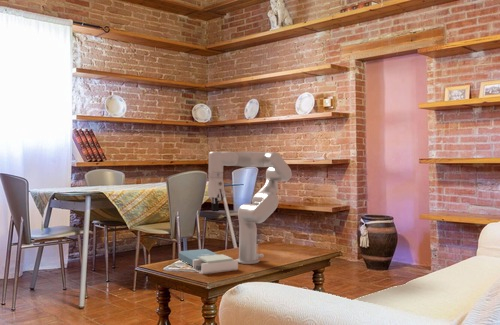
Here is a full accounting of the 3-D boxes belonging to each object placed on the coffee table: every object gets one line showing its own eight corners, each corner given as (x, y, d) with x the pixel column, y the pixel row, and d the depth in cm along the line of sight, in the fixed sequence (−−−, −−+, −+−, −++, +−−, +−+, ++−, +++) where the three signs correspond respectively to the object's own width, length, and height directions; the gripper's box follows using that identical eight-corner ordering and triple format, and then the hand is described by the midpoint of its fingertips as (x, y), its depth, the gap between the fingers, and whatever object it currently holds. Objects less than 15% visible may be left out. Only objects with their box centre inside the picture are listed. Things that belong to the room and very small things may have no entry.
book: (222, 266, 252) (222, 256, 252) (194, 269, 244) (194, 259, 244) (205, 257, 272) (206, 248, 272) (178, 260, 264) (179, 251, 264)
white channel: (227, 265, 251) (227, 255, 251) (237, 269, 242) (238, 260, 242) (192, 269, 241) (192, 259, 241) (202, 274, 231) (202, 264, 231)
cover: (222, 256, 249) (222, 254, 249) (232, 260, 240) (232, 258, 240) (198, 258, 242) (198, 256, 242) (207, 263, 233) (208, 261, 233)
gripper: (229, 176, 242) (228, 212, 242) (215, 174, 254) (214, 209, 255) (216, 176, 238) (215, 213, 238) (202, 175, 250) (202, 209, 251)
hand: (215, 211), depth 246 cm, fingers closed
